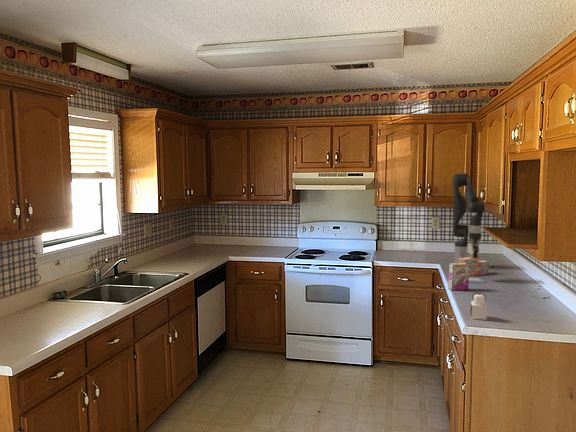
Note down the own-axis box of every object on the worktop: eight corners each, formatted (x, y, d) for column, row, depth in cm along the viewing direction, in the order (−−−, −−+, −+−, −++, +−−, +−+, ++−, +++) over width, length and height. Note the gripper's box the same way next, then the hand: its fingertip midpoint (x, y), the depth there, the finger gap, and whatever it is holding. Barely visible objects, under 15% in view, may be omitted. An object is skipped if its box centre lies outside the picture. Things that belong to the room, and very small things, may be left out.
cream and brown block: (469, 258, 322) (470, 247, 321) (477, 259, 321) (478, 247, 320) (471, 260, 317) (471, 248, 317) (479, 260, 316) (479, 248, 316)
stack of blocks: (482, 272, 347) (483, 256, 346) (488, 274, 341) (489, 257, 340) (457, 274, 340) (458, 257, 339) (463, 276, 335) (463, 259, 333)
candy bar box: (452, 291, 294) (452, 264, 292) (448, 289, 299) (448, 263, 297) (468, 290, 296) (469, 264, 294) (464, 288, 300) (465, 262, 299)
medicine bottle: (470, 314, 245) (471, 291, 243) (485, 316, 243) (486, 292, 241) (471, 319, 238) (472, 295, 237) (486, 320, 236) (487, 296, 235)
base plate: (463, 278, 328) (463, 276, 327) (481, 279, 325) (481, 277, 325) (465, 282, 316) (465, 280, 316) (484, 283, 313) (485, 281, 313)
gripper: (467, 230, 325) (466, 255, 327) (471, 233, 311) (470, 258, 313) (479, 230, 324) (478, 255, 325) (483, 233, 310) (482, 259, 311)
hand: (474, 257), depth 319 cm, fingers closed on cream and brown block, 5 cm apart
